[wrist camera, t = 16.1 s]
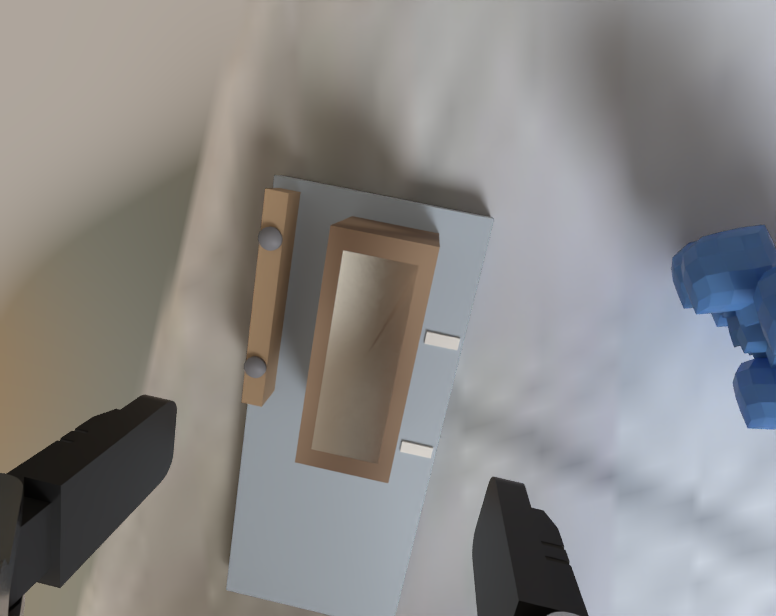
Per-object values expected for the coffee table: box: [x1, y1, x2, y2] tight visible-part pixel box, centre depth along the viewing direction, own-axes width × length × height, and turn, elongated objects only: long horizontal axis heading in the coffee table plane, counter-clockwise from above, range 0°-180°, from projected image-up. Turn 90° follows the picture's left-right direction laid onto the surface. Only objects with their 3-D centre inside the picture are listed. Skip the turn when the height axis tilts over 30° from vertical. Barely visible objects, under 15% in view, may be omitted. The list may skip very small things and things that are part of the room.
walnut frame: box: [295, 216, 440, 483], centre depth 20 cm, size 4×10×4 cm, turn 170°
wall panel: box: [226, 175, 494, 616], centre depth 24 cm, size 10×24×3 cm, turn 169°
